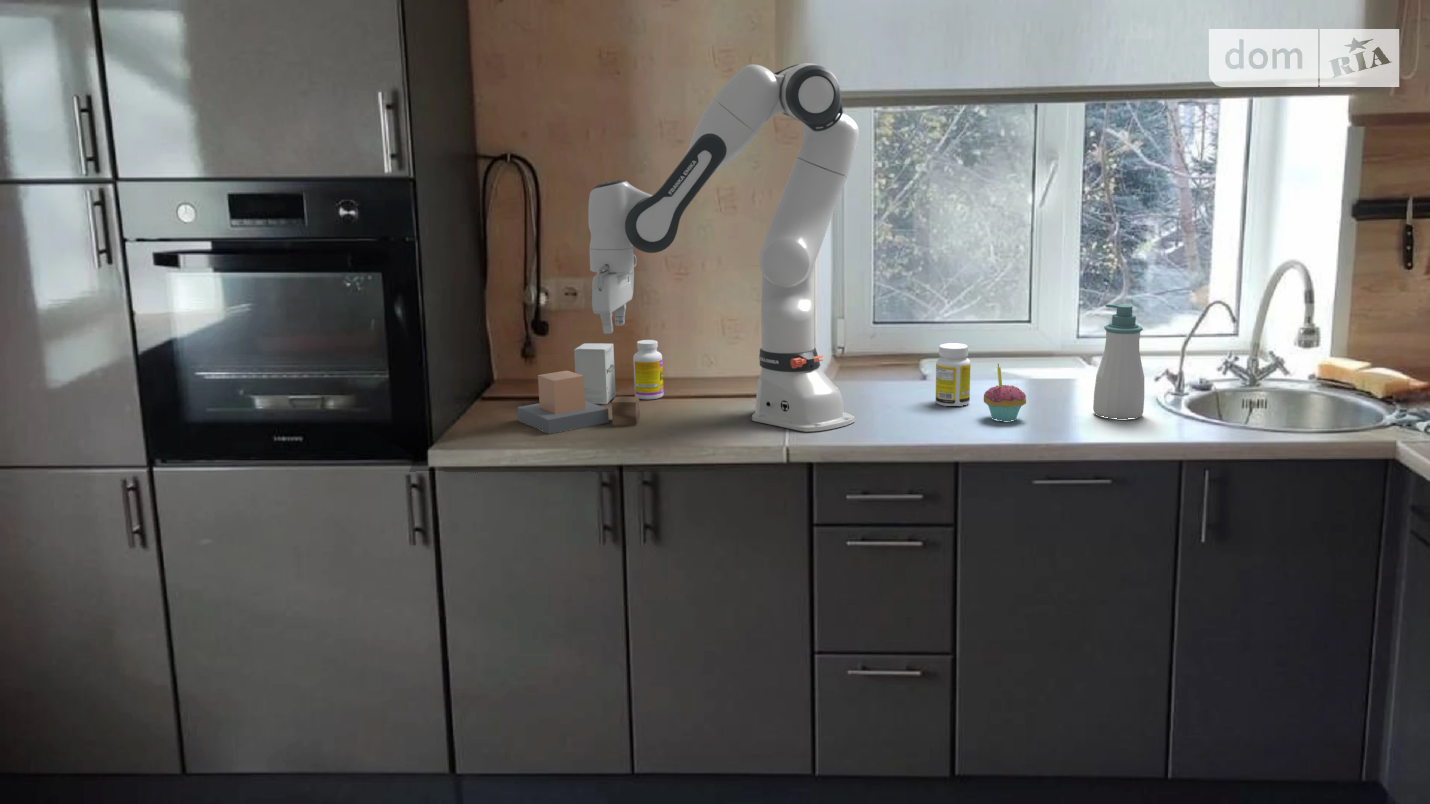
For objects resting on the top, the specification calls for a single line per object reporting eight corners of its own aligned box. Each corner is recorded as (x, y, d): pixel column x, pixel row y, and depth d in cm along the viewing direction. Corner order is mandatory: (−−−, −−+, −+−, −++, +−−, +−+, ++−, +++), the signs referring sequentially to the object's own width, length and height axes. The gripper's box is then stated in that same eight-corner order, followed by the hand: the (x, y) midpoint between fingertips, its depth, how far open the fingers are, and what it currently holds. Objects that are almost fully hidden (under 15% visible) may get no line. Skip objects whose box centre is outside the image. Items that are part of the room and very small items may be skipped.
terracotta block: (585, 408, 239) (583, 375, 238) (555, 413, 236) (553, 380, 234) (569, 402, 245) (567, 370, 243) (539, 407, 241) (537, 375, 239)
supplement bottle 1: (665, 399, 258) (663, 343, 255) (636, 401, 257) (633, 345, 254) (662, 392, 265) (660, 338, 262) (633, 394, 264) (631, 339, 261)
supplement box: (607, 404, 255) (604, 349, 252) (575, 404, 256) (572, 348, 253) (616, 397, 262) (614, 342, 259) (585, 396, 263) (583, 342, 260)
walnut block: (639, 419, 242) (639, 396, 241) (636, 425, 237) (635, 402, 236) (616, 419, 242) (615, 396, 241) (612, 425, 238) (611, 402, 236)
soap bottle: (1106, 407, 243) (1113, 300, 237) (1151, 414, 236) (1159, 305, 231) (1084, 416, 236) (1090, 306, 231) (1129, 424, 229) (1136, 311, 224)
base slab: (608, 422, 239) (608, 408, 239) (549, 434, 231) (548, 419, 231) (576, 410, 250) (575, 396, 250) (518, 420, 243) (517, 407, 242)
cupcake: (1001, 426, 230) (1004, 368, 227) (973, 417, 237) (975, 361, 234) (1034, 420, 233) (1036, 363, 230) (1005, 412, 241) (1008, 356, 238)
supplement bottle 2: (964, 399, 253) (966, 342, 250) (973, 406, 246) (975, 348, 243) (931, 400, 252) (932, 343, 249) (939, 408, 245) (941, 349, 242)
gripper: (614, 268, 221) (616, 338, 225) (638, 256, 241) (640, 320, 244) (582, 268, 222) (585, 338, 226) (609, 256, 242) (611, 320, 245)
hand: (614, 329), depth 235 cm, fingers open, 8 cm apart
